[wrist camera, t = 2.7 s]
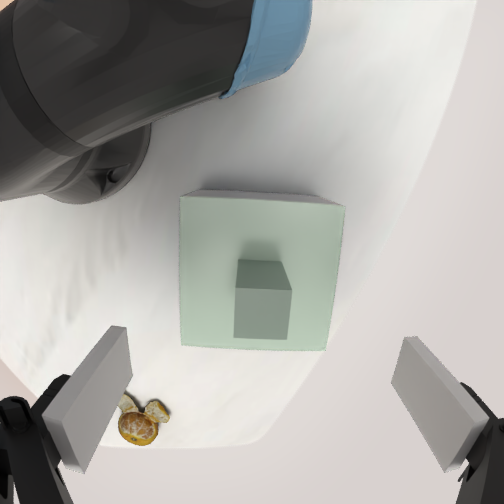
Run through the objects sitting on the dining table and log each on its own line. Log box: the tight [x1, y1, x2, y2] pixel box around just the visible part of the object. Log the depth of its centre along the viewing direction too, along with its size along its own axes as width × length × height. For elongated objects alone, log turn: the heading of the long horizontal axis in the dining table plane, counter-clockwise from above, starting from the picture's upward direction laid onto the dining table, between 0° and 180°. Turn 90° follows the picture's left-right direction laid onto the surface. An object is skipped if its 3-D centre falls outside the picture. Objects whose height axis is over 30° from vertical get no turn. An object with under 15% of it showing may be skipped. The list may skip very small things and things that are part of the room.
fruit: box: [118, 394, 170, 446], centre depth 38 cm, size 8×8×4 cm
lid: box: [179, 196, 345, 351], centre depth 23 cm, size 12×12×9 cm
